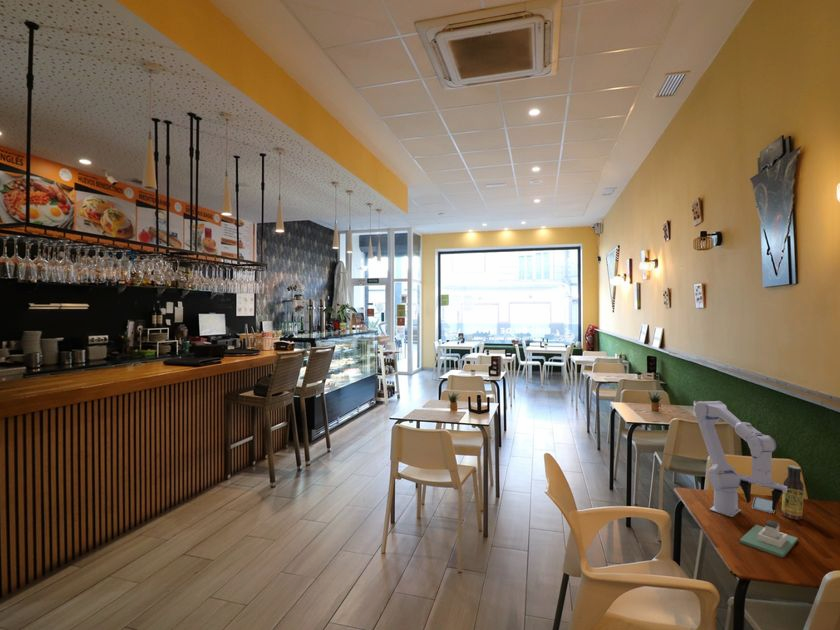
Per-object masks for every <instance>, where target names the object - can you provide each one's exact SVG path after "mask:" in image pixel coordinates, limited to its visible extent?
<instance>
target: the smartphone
mask: <svg viewBox="0 0 840 630" xmlns="http://www.w3.org/2000/svg"><path fill="white" fill-rule="evenodd" d="M751 509H753V510H755V511H756V510H757V511H760V512H764V513H769V514H772V513H773V515H774V514H775V512H776V510H772V500H771V499H767V498H764V497H763V498H762V497H758V496H754V498H753V501H752V504H751Z"/></svg>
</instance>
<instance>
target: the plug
mask: <svg viewBox="0 0 840 630" xmlns="http://www.w3.org/2000/svg"><path fill="white" fill-rule="evenodd" d="M764 527H765V536H768V537H771V538H774V539H777V540H779V532H780V523H779V522H777V521H775V520H774V521H773V520H771V519H767V521H765V522H764Z"/></svg>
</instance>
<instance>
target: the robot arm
mask: <svg viewBox="0 0 840 630" xmlns="http://www.w3.org/2000/svg"><path fill="white" fill-rule="evenodd" d="M693 410H694V413H695V416H696V420H697V423H698V426H699V430H700V433H701V435H702V439H703V442H704V445H705V448H706V450H707V453H708V456H709V459H710V462H711V464H712V465H711V466H710V467H709V468H708V470H707V473H708V481H709V484H710V485H711V487H712V488H713V506H712V507H710V508H709V510H710V511H712V512H716V513H717V514H720V515H721V514H722V515H724V516H727V517H728V516H729V517H731V518H734V517H735V516H736V515H738V513H740V512H741V510H742V509H739V502H738V501H739V498H738V497H739V495H738V492H737V491H738V489H739V488H740V487H741V489H742V491H743V492H742V493H743V494H744V496H745V501H746V503H748V504H749V503H750V502H751V501H752V498H751V495H752V493H751V488H752V485H756V486H761V487H763V488H767V489H771V499H772V510H775V511H776V510H777V506H778V503H779V500H780V499H781V497H782V495H783V493H786V492H787V486H784V484H780V483H778V482H775V481H772V468H773V467H772V461H773V458H772V457H773V456H772V455H773V454H772V453H773V452H775V451H776V449H777V443H776V441H775V439H774V438H773V437H772V436H771V435H768V434H767V435H766V434H764V433H762V432H761V431H759V430H757V429H756V428H755V427H754V426H753V425H752V423H750V422H746V421H741V420H740V419H739V418H738V417H736V415H734V414H733V413H732V412H731V411H730V410H728V407H727V405H726V404H724V403H723V402H722V401H721V400H715V401H711V400H710V401H709V400H707V401H701V400H699V401H697V402H696V404H695V405H694V408H693ZM720 419H722V420H723V421H724V422H725V423H727V424H728V425H730V426H731V427H732V428H734V432H735V434H737V436H738V437H740V438H741V439H743V440H744V441H745V442H746V443H747V445H748V448H749V450H750V455H751V476H749V475H744V474H738V473H737V471H736V468H734V467H733V466H732V465H730V464H729V463H728V460H727V458H726V455H725V452H724V449H723V447H722V443H721V440H720V439H719V435H718V431H717V429H716V427H715V424H716V423H717V422H718V421H720Z"/></svg>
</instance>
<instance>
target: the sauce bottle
mask: <svg viewBox="0 0 840 630" xmlns="http://www.w3.org/2000/svg"><path fill="white" fill-rule="evenodd" d="M801 473H802V468H801V467H799V466H797V465H792V464H791V465H787V477H786V479H784V481H783V485H784V486H787V492H786V493H783V494H782V496H781V497H782V498H781V500H782V501H781V514H782V516H784V517H785V518H788V519H791V520H798V521H799V520H801V519H802V516H803V511H804V510H803V509H804V495H805V493H804V490H805V489H804V483H803V482H802V480H801Z"/></svg>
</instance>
